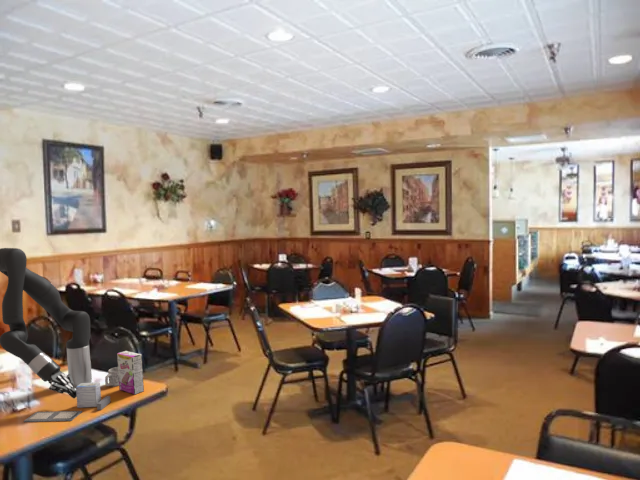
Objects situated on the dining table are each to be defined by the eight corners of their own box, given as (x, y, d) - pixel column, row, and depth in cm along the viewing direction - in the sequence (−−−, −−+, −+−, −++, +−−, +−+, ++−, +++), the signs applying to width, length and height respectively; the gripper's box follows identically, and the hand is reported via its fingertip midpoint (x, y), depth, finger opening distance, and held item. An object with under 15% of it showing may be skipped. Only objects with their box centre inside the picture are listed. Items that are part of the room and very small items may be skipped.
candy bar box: (118, 390, 214) (116, 353, 213) (128, 386, 218) (126, 350, 217) (134, 395, 208) (132, 356, 207) (144, 391, 212) (142, 353, 211)
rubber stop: (106, 402, 201) (106, 396, 201) (110, 402, 201) (110, 396, 201) (97, 410, 193) (96, 403, 193) (101, 410, 193) (100, 403, 193)
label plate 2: (59, 412, 192) (59, 411, 192) (82, 412, 192) (82, 410, 192) (47, 421, 184) (47, 419, 184) (71, 420, 184) (71, 419, 184)
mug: (116, 380, 227) (115, 366, 227) (128, 381, 225) (127, 367, 225) (100, 388, 218) (99, 373, 218) (112, 389, 216) (111, 374, 215)
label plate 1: (36, 413, 193) (36, 411, 193) (59, 412, 192) (59, 411, 192) (23, 422, 185) (23, 420, 185) (47, 421, 184) (47, 419, 184)
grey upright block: (101, 402, 201) (100, 381, 200) (97, 407, 196) (95, 385, 196) (82, 403, 201) (80, 382, 200) (77, 408, 196) (75, 386, 196)
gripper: (40, 365, 190) (74, 396, 190) (59, 355, 203) (90, 383, 204) (28, 379, 191) (61, 409, 191) (47, 368, 204) (79, 396, 204)
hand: (76, 396), depth 197 cm, fingers closed
